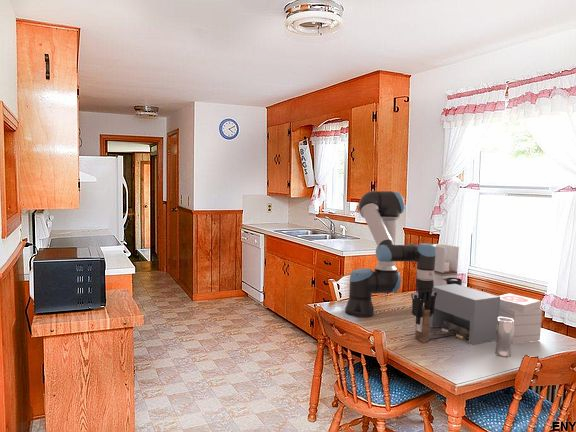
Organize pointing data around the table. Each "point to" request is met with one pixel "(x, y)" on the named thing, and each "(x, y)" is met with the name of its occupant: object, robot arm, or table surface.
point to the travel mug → (454, 281)
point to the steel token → (446, 329)
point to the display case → (445, 263)
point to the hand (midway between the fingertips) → (422, 330)
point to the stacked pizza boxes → (522, 316)
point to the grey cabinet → (467, 311)
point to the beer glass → (504, 336)
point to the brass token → (461, 336)
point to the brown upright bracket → (425, 335)
